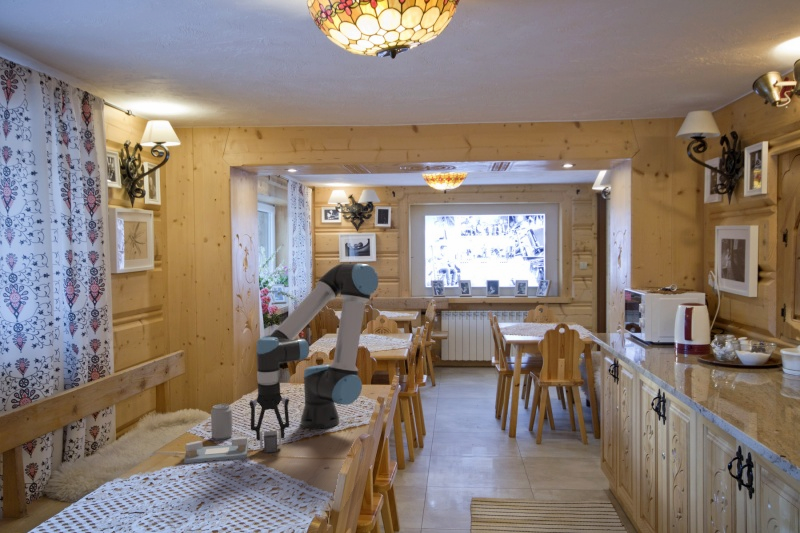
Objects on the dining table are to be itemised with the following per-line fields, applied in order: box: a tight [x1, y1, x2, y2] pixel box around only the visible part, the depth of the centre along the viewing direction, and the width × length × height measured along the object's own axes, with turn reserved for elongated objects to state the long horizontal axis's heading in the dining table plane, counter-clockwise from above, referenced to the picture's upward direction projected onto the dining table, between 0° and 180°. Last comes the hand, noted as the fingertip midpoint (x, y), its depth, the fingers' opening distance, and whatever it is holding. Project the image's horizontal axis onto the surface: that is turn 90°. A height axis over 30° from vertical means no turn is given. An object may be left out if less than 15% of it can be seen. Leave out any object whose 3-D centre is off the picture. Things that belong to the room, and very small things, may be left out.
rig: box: [183, 436, 249, 465], centre depth 206 cm, size 20×12×5 cm, turn 102°
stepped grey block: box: [263, 430, 278, 454], centre depth 209 cm, size 7×4×6 cm
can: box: [210, 403, 233, 441], centre depth 225 cm, size 8×8×12 cm
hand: (270, 448), depth 209 cm, fingers open, 6 cm apart
